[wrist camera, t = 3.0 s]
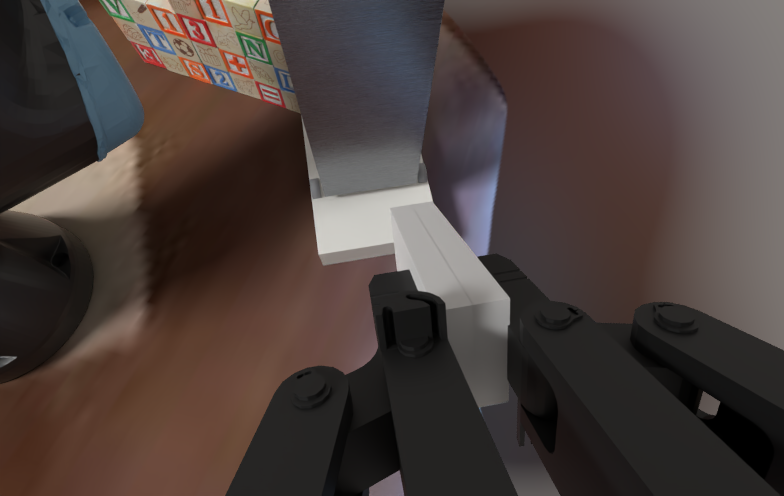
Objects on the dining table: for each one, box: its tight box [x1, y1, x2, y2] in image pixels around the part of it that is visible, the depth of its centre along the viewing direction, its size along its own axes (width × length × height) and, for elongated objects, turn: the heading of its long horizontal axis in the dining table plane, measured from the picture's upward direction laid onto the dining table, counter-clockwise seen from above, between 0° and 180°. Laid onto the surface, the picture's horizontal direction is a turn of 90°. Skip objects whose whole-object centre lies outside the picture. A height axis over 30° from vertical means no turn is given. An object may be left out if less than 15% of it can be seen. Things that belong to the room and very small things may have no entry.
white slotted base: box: [301, 116, 433, 266], centre depth 37 cm, size 16×11×7 cm
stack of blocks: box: [99, 0, 301, 113], centre depth 40 cm, size 21×6×12 cm, turn 70°
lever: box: [268, 0, 445, 197], centre depth 26 cm, size 2×10×21 cm, turn 100°
